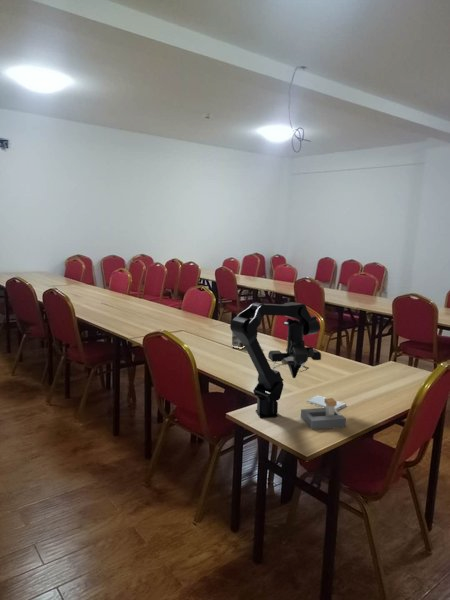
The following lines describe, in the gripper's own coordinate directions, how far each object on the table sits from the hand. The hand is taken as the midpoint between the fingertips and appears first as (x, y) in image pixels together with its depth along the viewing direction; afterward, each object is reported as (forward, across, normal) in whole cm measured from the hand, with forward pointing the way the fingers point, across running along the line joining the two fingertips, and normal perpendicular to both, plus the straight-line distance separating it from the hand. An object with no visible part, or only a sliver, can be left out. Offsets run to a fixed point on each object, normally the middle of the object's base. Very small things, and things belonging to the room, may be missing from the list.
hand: (293, 377), depth 161 cm
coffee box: (+11, 0, +92) cm, 93 cm away
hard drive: (+12, +13, 0) cm, 18 cm away
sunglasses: (+12, +15, +50) cm, 53 cm away
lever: (+10, +8, -16) cm, 20 cm away
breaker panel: (+11, +5, -16) cm, 20 cm away
